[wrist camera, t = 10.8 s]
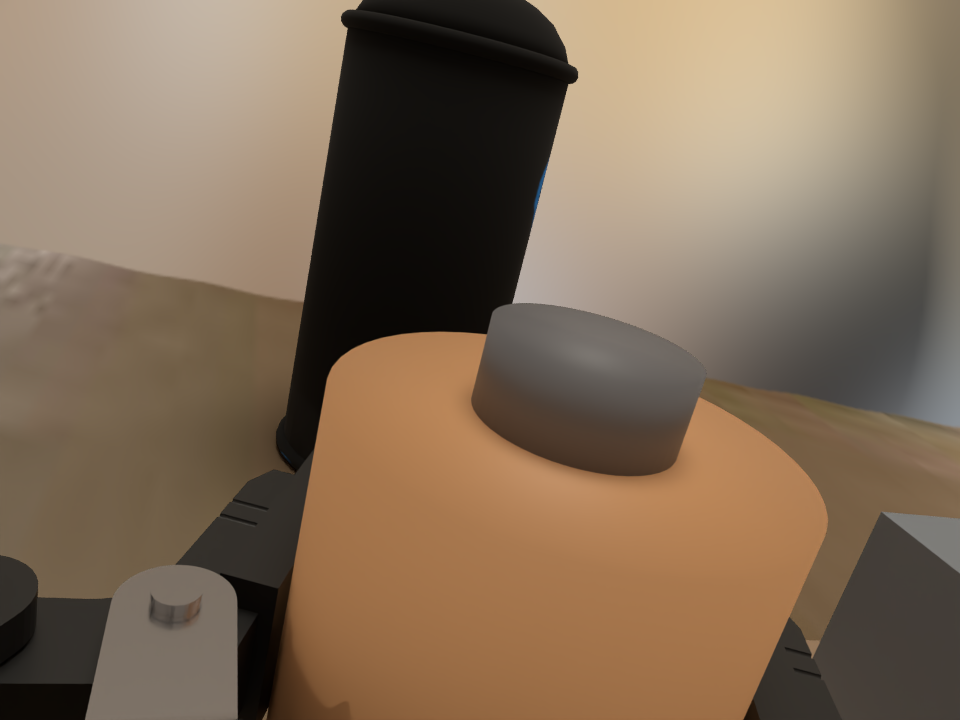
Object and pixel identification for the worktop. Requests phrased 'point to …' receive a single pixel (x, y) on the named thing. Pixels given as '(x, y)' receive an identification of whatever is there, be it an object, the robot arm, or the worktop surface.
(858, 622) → the grey holder stand
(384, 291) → the aerosol can
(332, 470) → the orange battery
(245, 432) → the worktop surface
